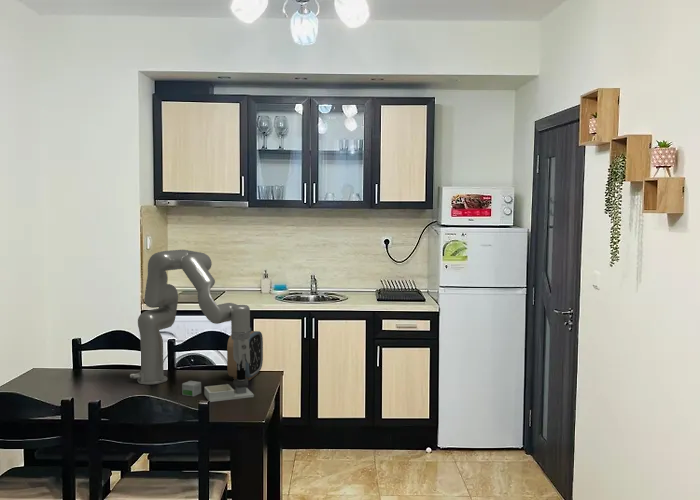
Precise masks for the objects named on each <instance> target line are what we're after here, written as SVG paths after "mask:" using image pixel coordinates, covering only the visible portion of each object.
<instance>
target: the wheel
mask: <svg viewBox="0 0 700 500" xmlns="http://www.w3.org/2000/svg"><path fill="white" fill-rule="evenodd" d="M232 381H233V386H234V387H235V388H236V387H244V386H246V387H247V386H249V380H248V379H246V378H245V380H237V379H234V380H232Z"/></svg>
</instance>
